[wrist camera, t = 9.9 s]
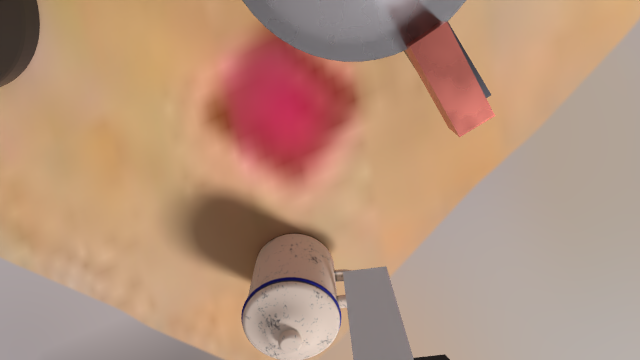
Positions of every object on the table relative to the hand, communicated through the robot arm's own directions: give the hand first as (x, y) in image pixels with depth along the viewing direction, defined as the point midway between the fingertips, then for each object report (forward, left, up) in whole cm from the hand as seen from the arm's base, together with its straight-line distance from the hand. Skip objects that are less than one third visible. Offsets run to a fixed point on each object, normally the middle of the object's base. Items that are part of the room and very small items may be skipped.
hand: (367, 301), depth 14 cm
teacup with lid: (+4, -16, -27) cm, 31 cm away
